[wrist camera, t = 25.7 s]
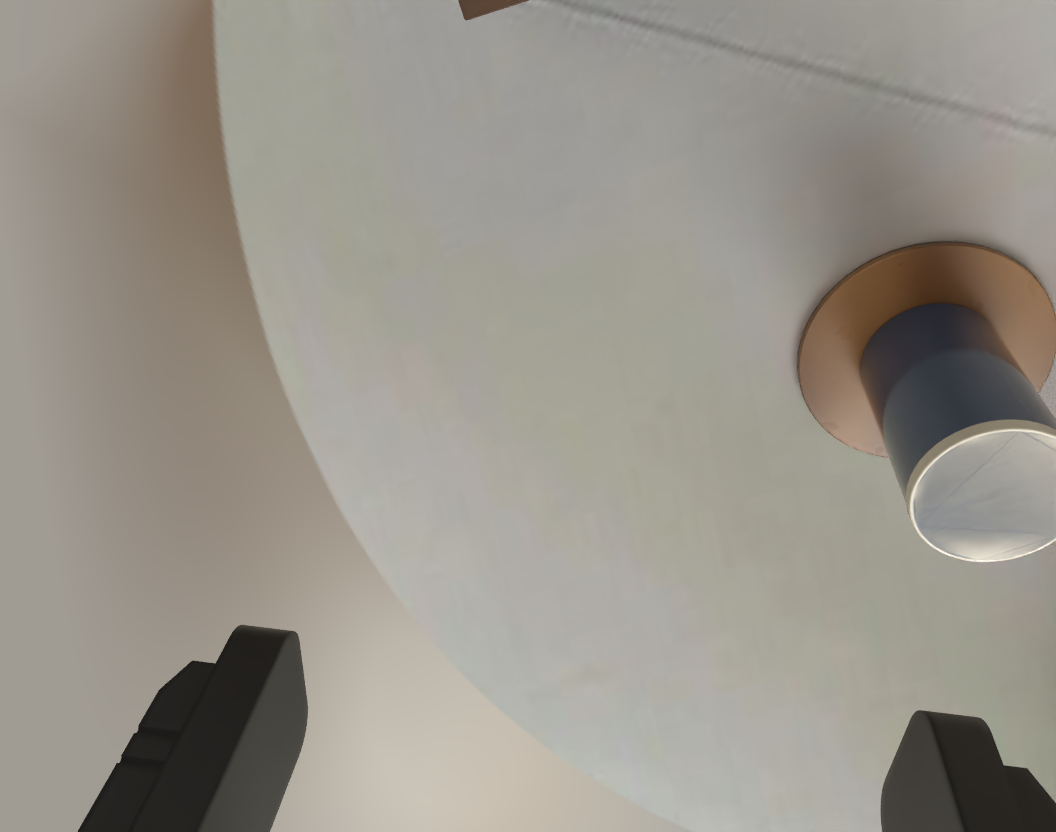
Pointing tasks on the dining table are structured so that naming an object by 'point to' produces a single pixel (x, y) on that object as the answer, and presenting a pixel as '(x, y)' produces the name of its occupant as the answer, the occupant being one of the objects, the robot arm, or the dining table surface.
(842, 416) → the coaster
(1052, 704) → the dining table surface
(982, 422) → the cup
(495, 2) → the shelf
